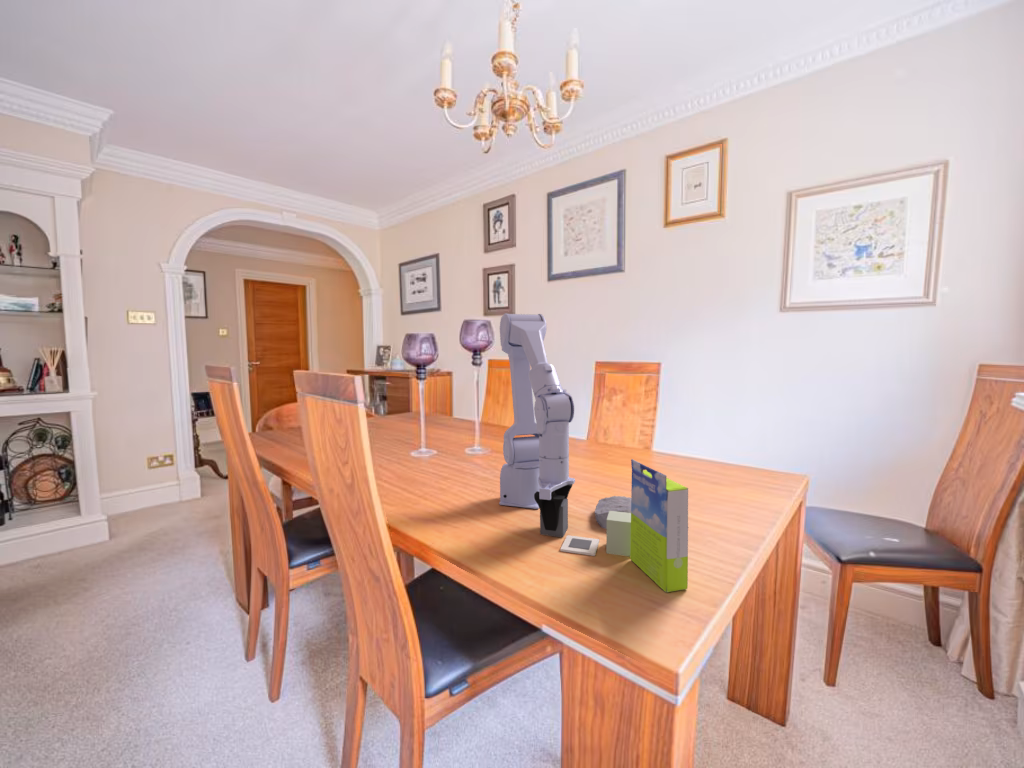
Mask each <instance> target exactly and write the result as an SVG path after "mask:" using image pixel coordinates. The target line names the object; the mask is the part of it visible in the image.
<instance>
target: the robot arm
mask: <svg viewBox="0 0 1024 768" xmlns="http://www.w3.org/2000/svg"><path fill="white" fill-rule="evenodd" d="M546 334H547V320H546V318H545V315H543V314H542V313H537V314H529V313H527V314H525V313H523V314H522V313H520V314H519V313H506V312H505V313H503V314H502V316H501V317H500V322H499V337H500V339H499V340H500V346H501V351H502V352H503V353H505V354H507V355H508V360H509V369H510V370H509V371H510V380H511V381H510V382H511V395H512V409H513V424H512V425H511V426H510V427H508V428H507V429H506V431H504V433H503V444H502V445H503V446H502V452H503V458H504V461H505V462H506V463H504V464H503V465H502V467H500V469H501V470H500V475H499V490H500V491H499V497H500V498H499V503H498V504H499V505H500V506H509V507H516V508H517V507H518V508H524V509H525V508H526V509H535V510H539V512H540V511H541V514H542V519H543V523H544V527H545V530H551V531H556V529H557V526H558V520H559V512H560V508H561V505H562V502H563V500H564V499H568V497H569V494H570V493H571V489H572V487H573V485H574V484H575V483H576V479H575V478H574V477H571V476H570V471H569V470H570V468H569V467H570V462H569V461H570V444H569V443H570V432H569V431H570V430H569V429H570V426H569V423H572V422H573V419H574V417H575V404H574V400H573V396H572V394H570V393H569V392H567V389H565V388H563V386H562V384H561V381H560V377H559V375H558V373H557V370H556V367H555V366H554V365H553V364H551V363H549V361H548V358H547V357H548V356H547V351H546V349H545V344H544V340H545V337H546ZM533 395H534V396H533ZM533 397H534V398H533ZM534 400H535V401H534ZM529 435H530V436H529ZM516 436H517V437H516Z"/></svg>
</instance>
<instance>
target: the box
mask: <svg viewBox="0 0 1024 768" xmlns="http://www.w3.org/2000/svg"><path fill="white" fill-rule="evenodd" d="M630 461H631V490H630V491H631V493H630V494H631V495H630V496H631V497H630V498H631V545H630V547H631V549H630V556H629V559H630V561H632V563H634V564H635V565H636V566H637V567H638V568H639V569H641V571H642V572H643V573H645V574H646V576H648V577H649V578H650V579H651V580H652V581H654V582H655V584H656V585H657V586H658V587H659V588H661V589H662V591H663V592H665V593H670V592H676V591H677V592H679V591H683V590H684V591H685V590H688V585H689V584H688V581H689V580H688V579H689V578H688V576H689V575H688V573H689V569H688V568H689V488H688V487H687V486H684V485H682V484H681V483H678V482H676V481H674V480H672V479H670V478H668V477H667V475H666V474H664V473H661V472H659V471H658V470H655V469H653V468H651V467H650V466H646V465H645V464H643V463H641V462H639V461H637V460H635V459H633V458H631V459H630Z"/></svg>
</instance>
